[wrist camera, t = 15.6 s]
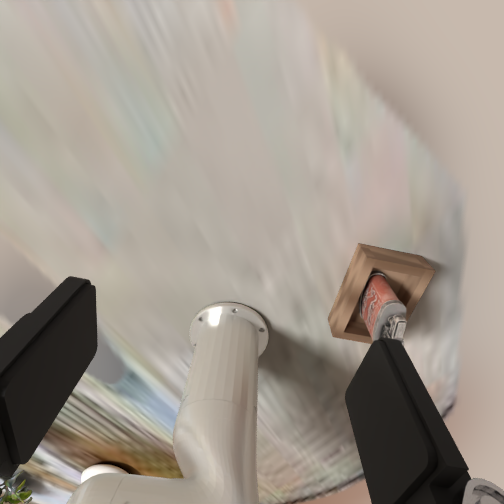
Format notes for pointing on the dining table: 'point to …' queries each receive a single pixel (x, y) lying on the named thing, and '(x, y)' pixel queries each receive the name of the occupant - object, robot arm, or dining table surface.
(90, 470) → the flower in vase
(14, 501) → the green leafy plant
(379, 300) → the lighter
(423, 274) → the lighter dock
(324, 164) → the dining table surface
